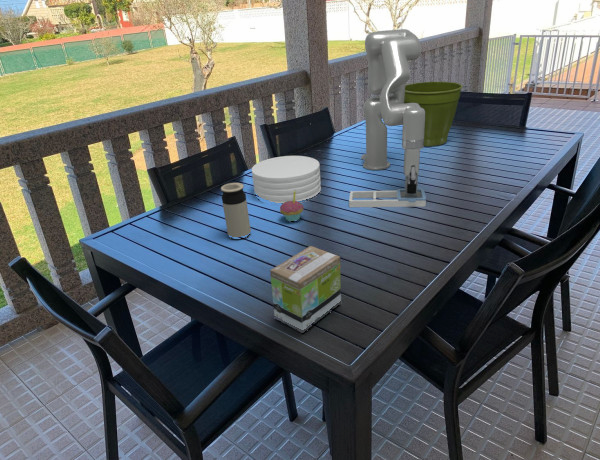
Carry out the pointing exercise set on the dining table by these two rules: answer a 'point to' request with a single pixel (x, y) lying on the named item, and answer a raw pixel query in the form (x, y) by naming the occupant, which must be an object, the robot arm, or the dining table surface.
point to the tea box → (306, 286)
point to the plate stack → (287, 178)
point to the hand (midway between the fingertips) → (411, 190)
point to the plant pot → (435, 107)
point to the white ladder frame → (387, 203)
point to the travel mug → (235, 210)
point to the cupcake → (292, 209)
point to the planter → (406, 188)
